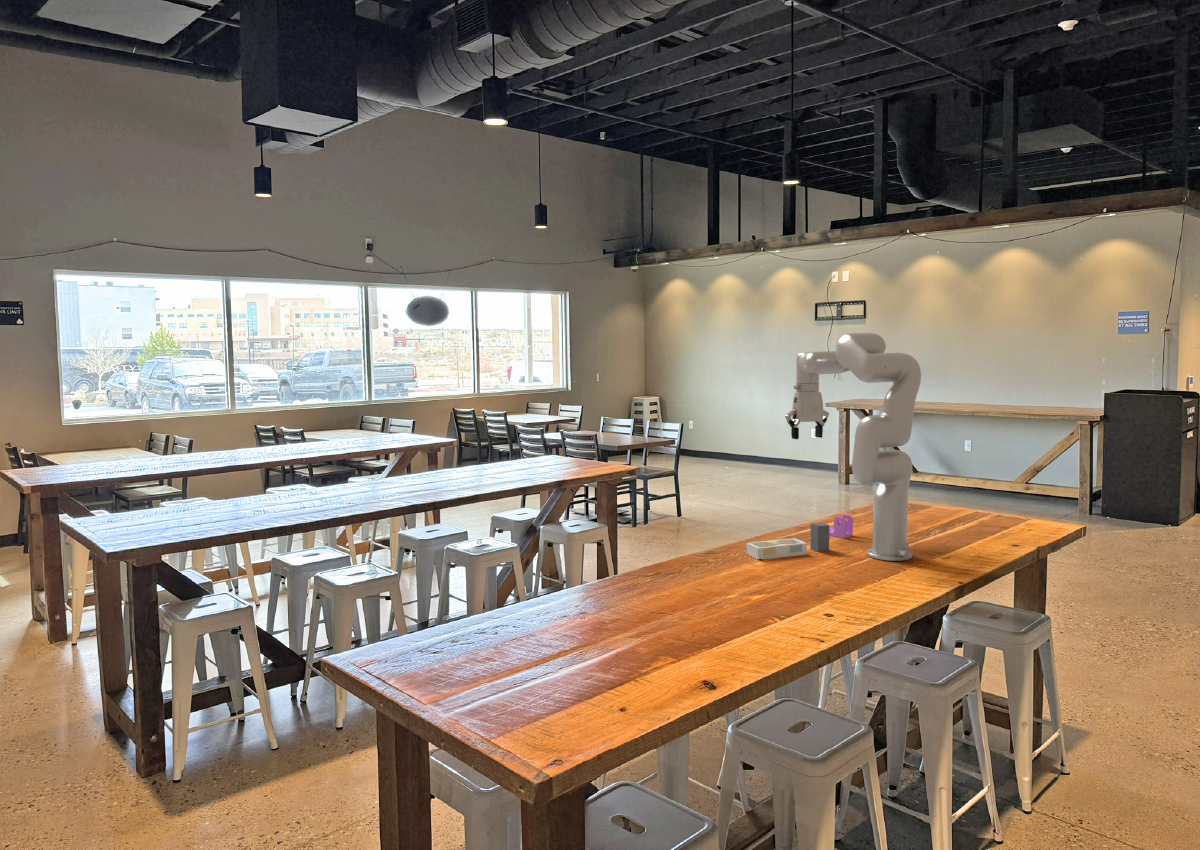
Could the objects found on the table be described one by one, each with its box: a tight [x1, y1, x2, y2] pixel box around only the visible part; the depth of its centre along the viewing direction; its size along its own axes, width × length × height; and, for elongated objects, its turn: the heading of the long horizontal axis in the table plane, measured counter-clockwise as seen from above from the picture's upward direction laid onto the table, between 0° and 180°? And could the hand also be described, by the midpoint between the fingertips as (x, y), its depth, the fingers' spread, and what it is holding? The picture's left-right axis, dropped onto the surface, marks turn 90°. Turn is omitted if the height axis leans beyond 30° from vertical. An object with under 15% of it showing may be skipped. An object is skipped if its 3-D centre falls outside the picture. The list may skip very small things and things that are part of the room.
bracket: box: [829, 513, 854, 540], centre depth 270 cm, size 13×6×7 cm, turn 45°
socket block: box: [746, 537, 808, 561], centre depth 245 cm, size 7×17×4 cm, turn 108°
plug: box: [809, 522, 830, 553], centre depth 249 cm, size 4×4×8 cm
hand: (807, 438), depth 279 cm, fingers open, 9 cm apart
